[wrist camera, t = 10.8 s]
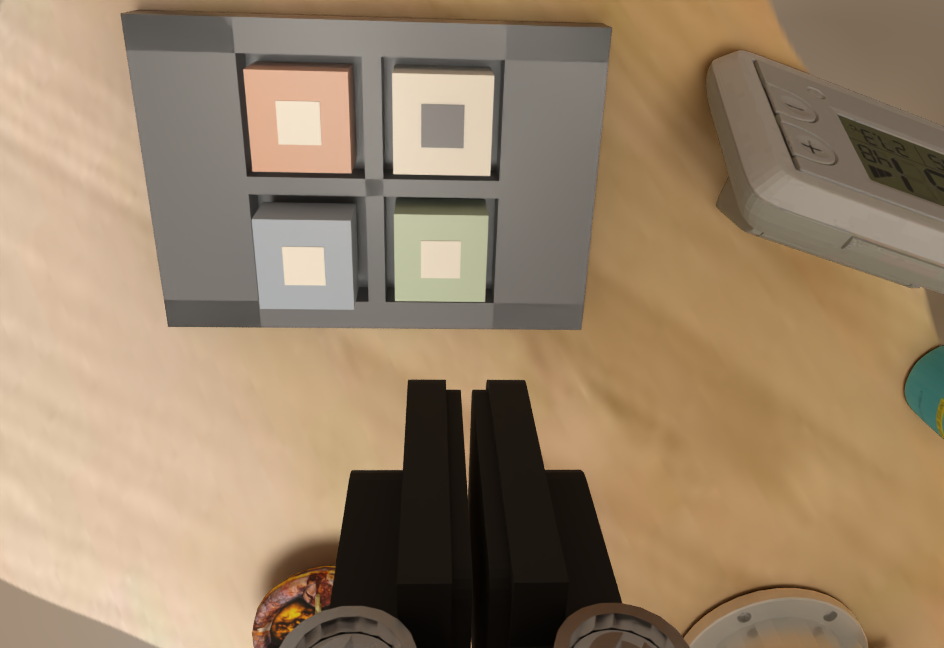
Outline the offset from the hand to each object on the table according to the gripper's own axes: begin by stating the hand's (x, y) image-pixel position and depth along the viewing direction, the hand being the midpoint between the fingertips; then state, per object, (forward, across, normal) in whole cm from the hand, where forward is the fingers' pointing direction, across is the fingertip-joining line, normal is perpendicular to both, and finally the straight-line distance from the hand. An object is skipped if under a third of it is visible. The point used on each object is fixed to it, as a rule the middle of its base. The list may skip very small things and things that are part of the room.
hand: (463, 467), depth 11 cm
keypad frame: (+27, +3, +3) cm, 27 cm away
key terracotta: (+27, +6, 0) cm, 27 cm away
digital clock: (+27, -19, +2) cm, 33 cm away
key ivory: (+27, 0, 0) cm, 27 cm away
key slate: (+26, +6, +6) cm, 27 cm away
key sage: (+27, 0, +6) cm, 27 cm away
